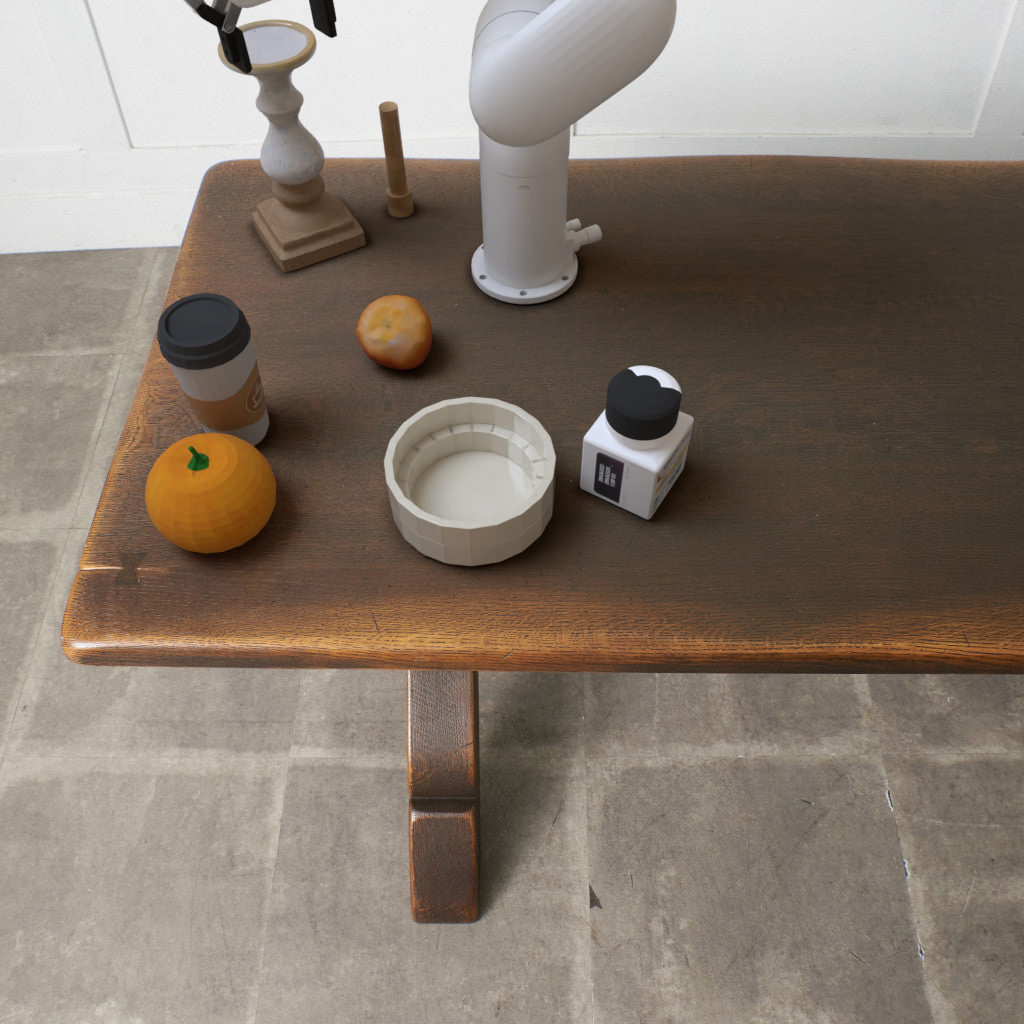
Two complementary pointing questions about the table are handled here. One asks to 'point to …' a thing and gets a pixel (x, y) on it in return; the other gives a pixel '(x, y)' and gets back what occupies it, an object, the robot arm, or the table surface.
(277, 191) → the candle holder
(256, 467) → the fruit
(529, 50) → the robot arm
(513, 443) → the bowl
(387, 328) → the fruit
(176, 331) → the coffee cup
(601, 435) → the container
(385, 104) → the wooden pestle
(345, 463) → the table surface
